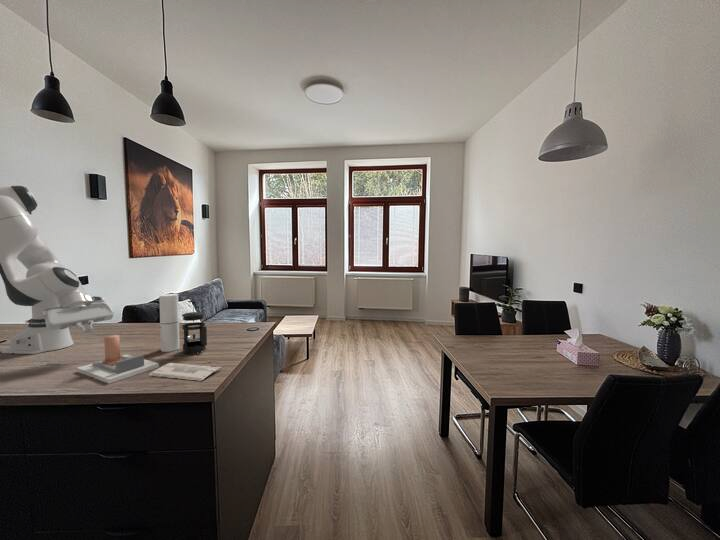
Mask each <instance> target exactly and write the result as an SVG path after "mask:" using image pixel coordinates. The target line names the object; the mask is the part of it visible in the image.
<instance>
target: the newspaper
mask: <svg viewBox="0 0 720 540" xmlns="http://www.w3.org/2000/svg"><path fill="white" fill-rule="evenodd" d="M221 367H222V366H216V367H211V365H200V364H189V363H188V364H186V363H175V362H169V363H166V364H164V365H162V366H159V367H158V368H155V369H154V370H153V371H151V372H150V373H149V374H148V377H152V376H155V377H154V378H161V377H167V378H166V379H171V378H178V379H177V380H180V379H192V380H203V381H204V380H205V378H207V377H209V376H210V375H212V374H213V373H215V372H214V371H216V370H217V369H221V370H223V369H222V368H223V367H222V368H221Z"/></svg>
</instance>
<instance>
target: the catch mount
mask: <svg viewBox="0 0 720 540" xmlns="http://www.w3.org/2000/svg"><path fill="white" fill-rule="evenodd" d="M120 358H123V359H124V360H121V361H117V362H115V365H111V366H110V365H107V364H104V363H102V362H101V361H102V360H100V361H97V360H95V361H92V363H90V364H85V365H82V366H78V367H76V372H77V373H79V374H82V375H84V374H85V376H87V377H90V378H92V377H93V379H95V380H97V381H101V382H104V383H106V384H108V385H110V384H112V383H115V382H119V381H122V380H125V379H128V378H130V377H134V376H137V375H139V374H142V373H146V372H149V371H152V370H156V369H158V368H160V364H159V362H155V361H152V360H148V359H145V354H144V355H143V354H140V355H139V354H138V355H135V356H134V355H130V354H123V355H120Z"/></svg>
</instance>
